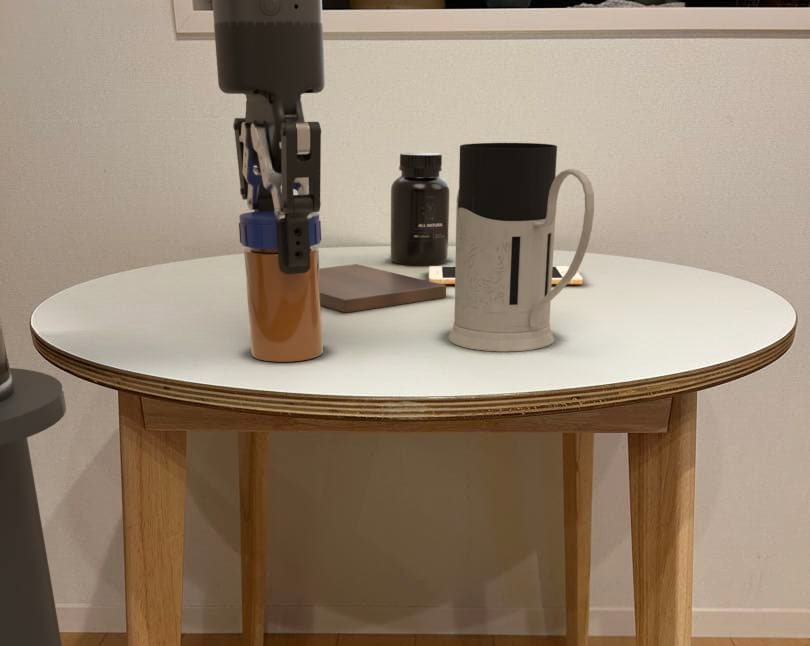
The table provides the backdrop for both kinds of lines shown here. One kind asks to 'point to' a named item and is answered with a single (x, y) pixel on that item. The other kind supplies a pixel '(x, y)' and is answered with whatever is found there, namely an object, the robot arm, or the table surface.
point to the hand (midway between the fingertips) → (281, 265)
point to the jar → (283, 308)
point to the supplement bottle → (420, 211)
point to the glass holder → (509, 245)
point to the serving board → (372, 288)
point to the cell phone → (448, 275)
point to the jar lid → (270, 229)
